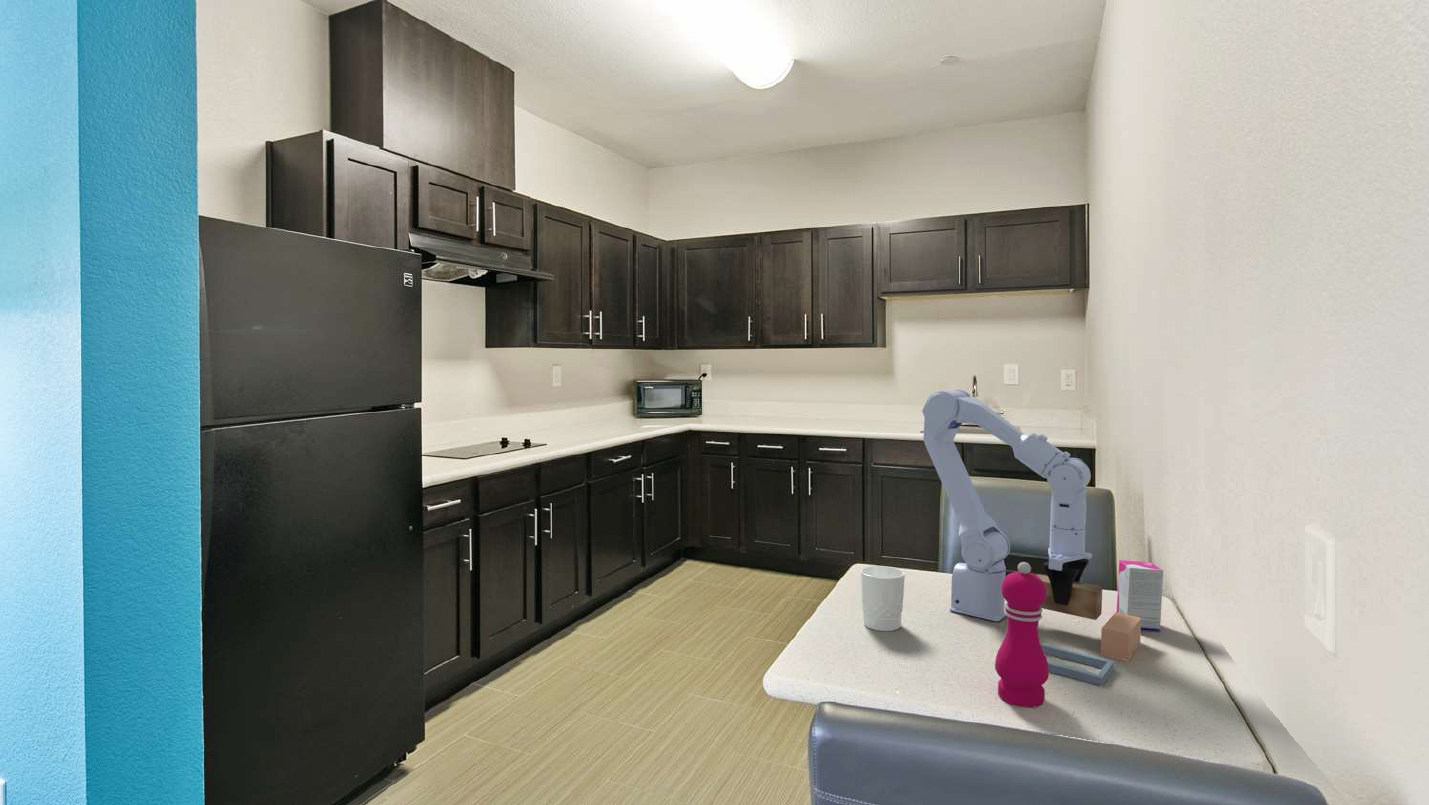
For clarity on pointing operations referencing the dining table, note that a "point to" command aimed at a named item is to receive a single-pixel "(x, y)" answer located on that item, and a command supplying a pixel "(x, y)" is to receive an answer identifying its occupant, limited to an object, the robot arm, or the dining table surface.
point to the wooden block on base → (1076, 600)
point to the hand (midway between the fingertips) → (1064, 600)
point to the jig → (1083, 658)
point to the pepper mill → (1022, 641)
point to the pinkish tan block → (1120, 636)
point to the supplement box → (1140, 592)
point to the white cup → (882, 597)
